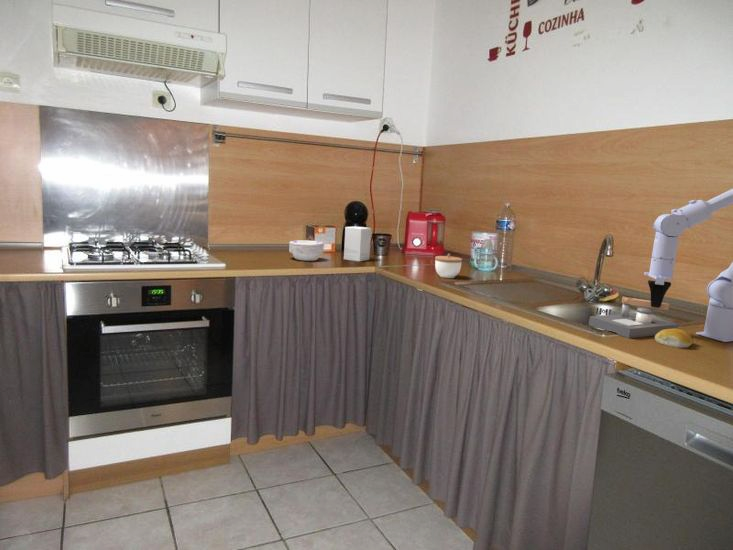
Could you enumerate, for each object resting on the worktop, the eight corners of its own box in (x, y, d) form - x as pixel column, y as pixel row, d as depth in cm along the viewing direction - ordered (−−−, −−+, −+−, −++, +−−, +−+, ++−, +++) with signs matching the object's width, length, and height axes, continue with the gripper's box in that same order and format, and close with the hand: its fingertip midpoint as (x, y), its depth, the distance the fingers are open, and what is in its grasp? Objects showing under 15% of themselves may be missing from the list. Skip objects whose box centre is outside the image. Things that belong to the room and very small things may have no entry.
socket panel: (635, 320, 161) (638, 301, 160) (677, 332, 150) (680, 311, 149) (588, 325, 152) (591, 304, 151) (628, 338, 141) (632, 315, 140)
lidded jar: (429, 276, 216) (431, 253, 214) (439, 273, 225) (441, 251, 224) (455, 280, 211) (457, 256, 209) (463, 277, 220) (466, 254, 219)
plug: (640, 327, 153) (643, 307, 152) (653, 331, 150) (656, 310, 149) (630, 328, 151) (634, 307, 150) (643, 332, 148) (647, 311, 147)
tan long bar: (621, 302, 154) (621, 297, 154) (622, 301, 157) (623, 296, 156) (667, 310, 148) (668, 305, 148) (668, 309, 150) (669, 303, 150)
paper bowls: (286, 256, 245) (286, 239, 243) (319, 257, 249) (319, 240, 248) (291, 261, 230) (292, 243, 229) (326, 262, 235) (327, 244, 234)
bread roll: (694, 344, 140) (697, 329, 139) (686, 351, 133) (689, 335, 133) (659, 336, 145) (661, 322, 145) (650, 342, 139) (652, 327, 138)
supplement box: (370, 260, 250) (372, 227, 248) (359, 261, 243) (361, 228, 240) (353, 257, 255) (355, 225, 252) (343, 259, 247) (344, 226, 245)
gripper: (647, 254, 155) (640, 300, 157) (646, 258, 143) (638, 309, 145) (675, 257, 152) (667, 304, 154) (676, 262, 139) (668, 313, 142)
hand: (655, 307), depth 149 cm, fingers closed, pressing on tan long bar
